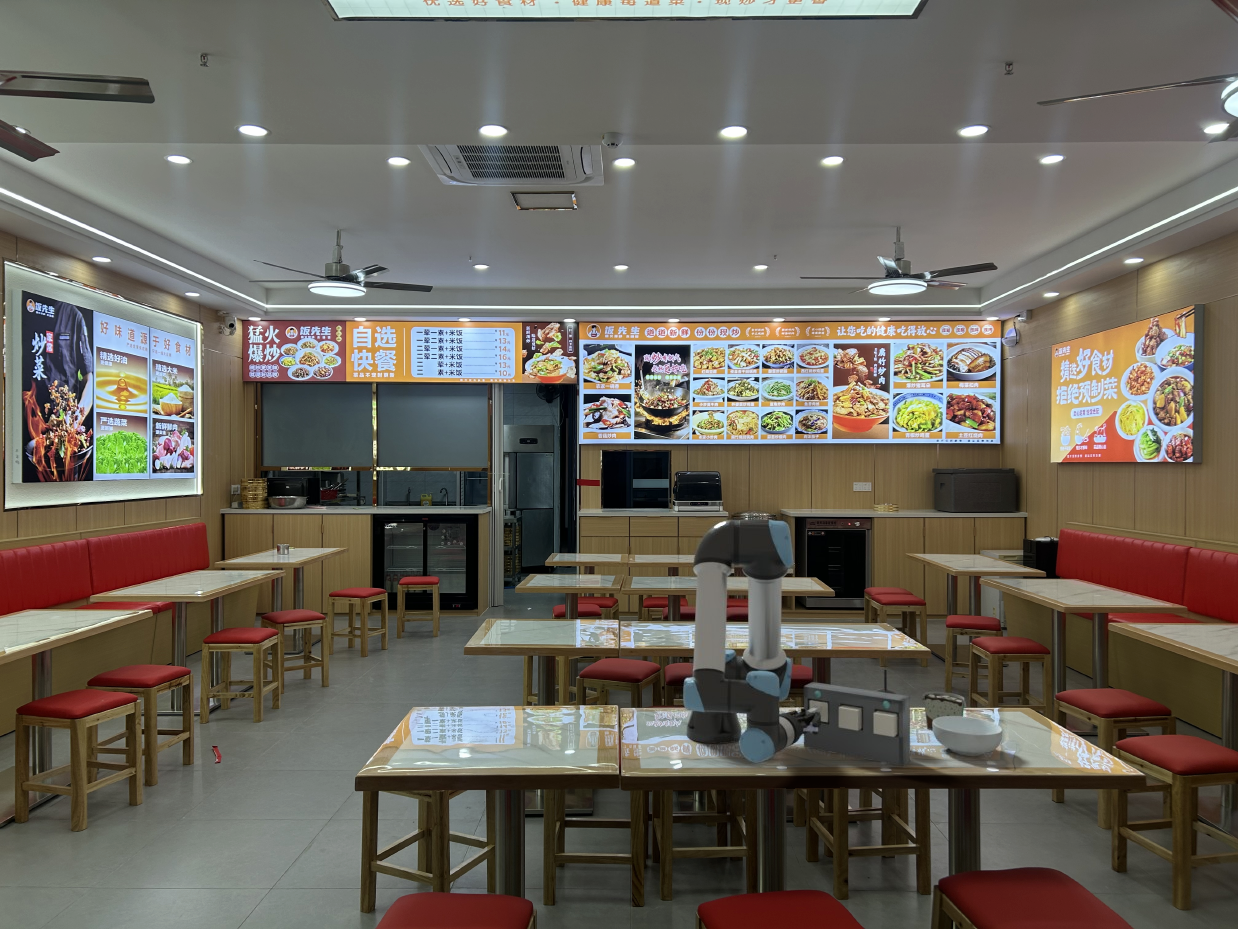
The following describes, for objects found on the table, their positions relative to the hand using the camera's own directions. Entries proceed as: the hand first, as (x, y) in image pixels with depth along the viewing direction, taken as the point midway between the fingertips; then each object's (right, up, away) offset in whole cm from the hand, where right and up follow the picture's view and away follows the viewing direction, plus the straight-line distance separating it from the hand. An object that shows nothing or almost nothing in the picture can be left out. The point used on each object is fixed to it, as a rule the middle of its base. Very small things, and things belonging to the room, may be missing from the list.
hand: (818, 711), depth 218 cm
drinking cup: (+19, -11, +4) cm, 22 cm away
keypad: (+9, -10, -3) cm, 14 cm away
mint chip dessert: (+42, -11, +19) cm, 47 cm away
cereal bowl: (+39, -11, -1) cm, 40 cm away
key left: (+1, -3, +2) cm, 3 cm away
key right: (+14, -2, -11) cm, 18 cm away
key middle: (+7, -2, -6) cm, 9 cm away
